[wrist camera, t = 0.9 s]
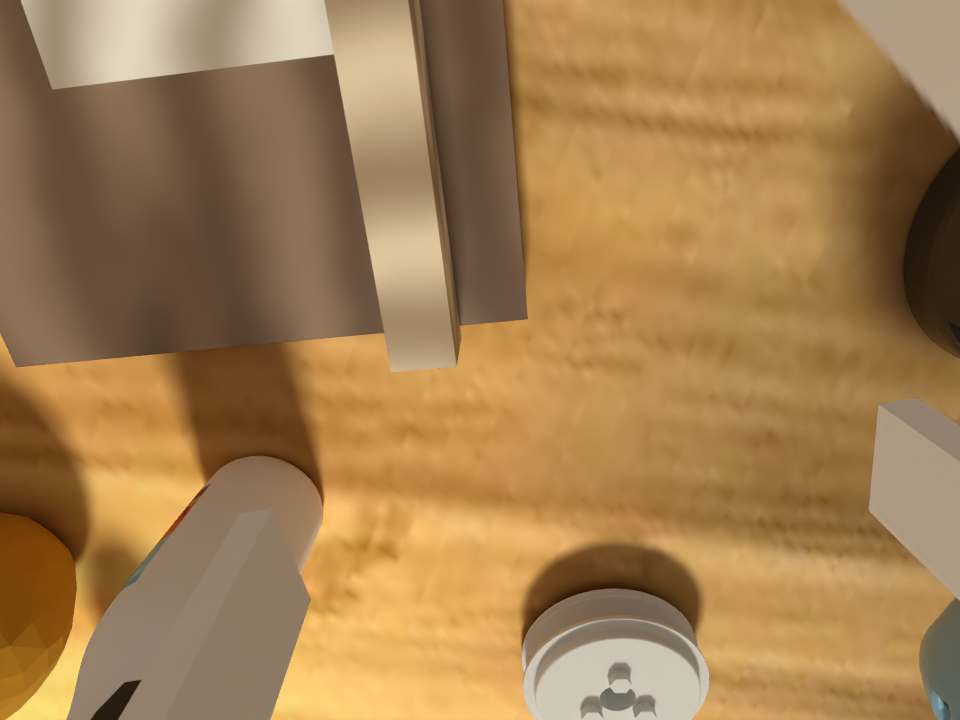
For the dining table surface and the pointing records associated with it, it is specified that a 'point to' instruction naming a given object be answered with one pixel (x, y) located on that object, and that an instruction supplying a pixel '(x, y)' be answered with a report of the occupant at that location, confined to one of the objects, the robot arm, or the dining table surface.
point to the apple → (31, 607)
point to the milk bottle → (190, 569)
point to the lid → (613, 660)
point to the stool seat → (224, 176)
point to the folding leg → (398, 176)
